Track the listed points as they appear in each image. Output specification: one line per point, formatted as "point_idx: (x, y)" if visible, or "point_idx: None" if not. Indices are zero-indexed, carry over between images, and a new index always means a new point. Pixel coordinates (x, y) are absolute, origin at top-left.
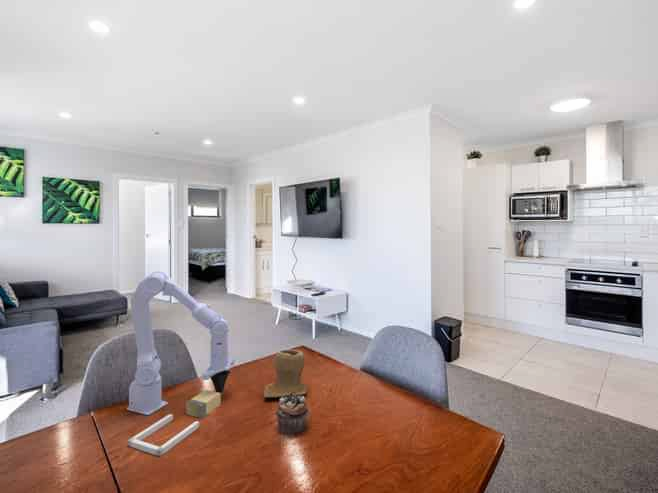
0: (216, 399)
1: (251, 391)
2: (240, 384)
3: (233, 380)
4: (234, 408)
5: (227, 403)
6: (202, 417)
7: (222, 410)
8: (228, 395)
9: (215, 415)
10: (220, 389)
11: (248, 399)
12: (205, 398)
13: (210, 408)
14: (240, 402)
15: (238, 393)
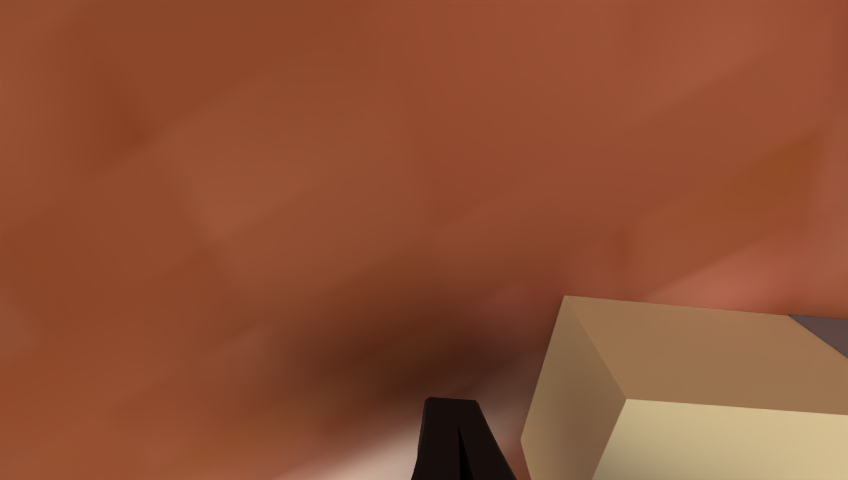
0: (686, 363)
1: (122, 91)
2: (56, 327)
3: (34, 432)
4: (644, 84)
5: (531, 237)
6: (841, 319)
7: (698, 207)
8: (354, 318)
9: (809, 223)
10: (497, 447)
11: (358, 6)
12: (797, 478)
13: (751, 331)
14: (474, 86)
15: (263, 238)
